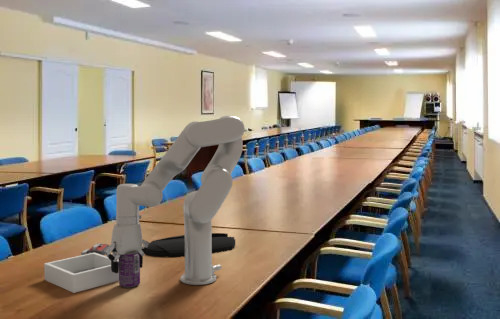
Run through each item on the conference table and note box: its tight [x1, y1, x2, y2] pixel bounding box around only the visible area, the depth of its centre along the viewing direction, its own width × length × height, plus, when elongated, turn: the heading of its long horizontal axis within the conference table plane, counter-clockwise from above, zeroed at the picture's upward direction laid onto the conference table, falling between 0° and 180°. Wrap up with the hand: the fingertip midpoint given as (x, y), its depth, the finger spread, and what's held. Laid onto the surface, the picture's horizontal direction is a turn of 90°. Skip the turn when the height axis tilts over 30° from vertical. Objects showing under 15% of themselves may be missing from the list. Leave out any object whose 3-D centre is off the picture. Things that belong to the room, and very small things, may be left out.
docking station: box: [144, 232, 236, 258], centre depth 234 cm, size 25×41×5 cm, turn 116°
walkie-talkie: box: [80, 242, 110, 256], centre depth 222 cm, size 9×4×20 cm
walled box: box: [43, 252, 119, 294], centre depth 191 cm, size 20×20×6 cm
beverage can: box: [118, 251, 141, 289], centre depth 184 cm, size 7×7×12 cm
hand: (127, 269), depth 184 cm, fingers open, 9 cm apart
